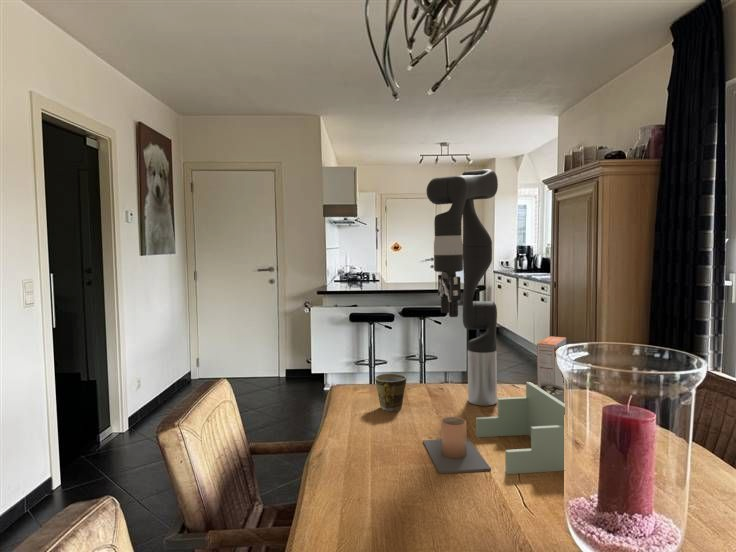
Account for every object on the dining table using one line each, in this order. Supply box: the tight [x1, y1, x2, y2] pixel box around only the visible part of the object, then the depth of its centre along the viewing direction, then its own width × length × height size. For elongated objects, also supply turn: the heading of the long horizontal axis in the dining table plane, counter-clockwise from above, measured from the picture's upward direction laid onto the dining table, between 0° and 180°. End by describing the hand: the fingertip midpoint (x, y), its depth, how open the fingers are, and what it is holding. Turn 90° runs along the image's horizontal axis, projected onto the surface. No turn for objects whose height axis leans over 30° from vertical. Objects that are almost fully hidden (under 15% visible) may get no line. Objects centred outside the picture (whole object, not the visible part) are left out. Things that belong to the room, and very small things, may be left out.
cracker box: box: [536, 335, 567, 388], centre depth 153 cm, size 14×6×21 cm, turn 144°
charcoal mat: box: [422, 437, 492, 475], centre depth 117 cm, size 18×12×1 cm, turn 5°
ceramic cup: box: [374, 373, 407, 412], centre depth 152 cm, size 13×10×10 cm
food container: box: [541, 383, 565, 404], centre depth 137 cm, size 12×6×10 cm, turn 168°
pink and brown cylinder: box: [440, 416, 468, 459], centre depth 117 cm, size 6×6×8 cm
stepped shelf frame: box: [475, 381, 566, 475], centre depth 118 cm, size 22×15×14 cm
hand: (449, 314), depth 126 cm, fingers open, 8 cm apart
